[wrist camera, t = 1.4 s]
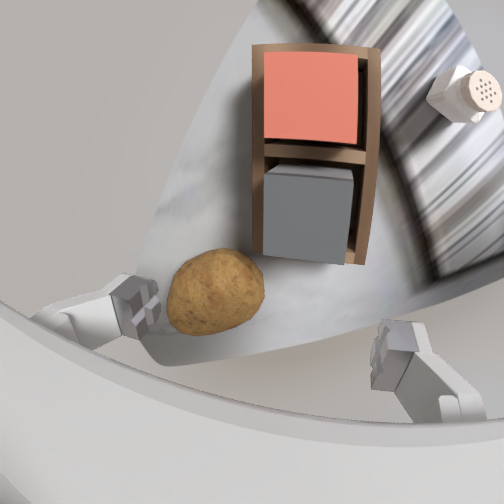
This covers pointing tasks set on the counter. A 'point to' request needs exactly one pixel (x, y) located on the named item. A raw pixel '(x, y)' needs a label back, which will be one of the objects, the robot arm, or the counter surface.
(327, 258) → the grey cube
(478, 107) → the pepper shaker
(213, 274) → the potato
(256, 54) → the wooden divided tray
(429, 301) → the counter surface
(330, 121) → the red and grey cube
